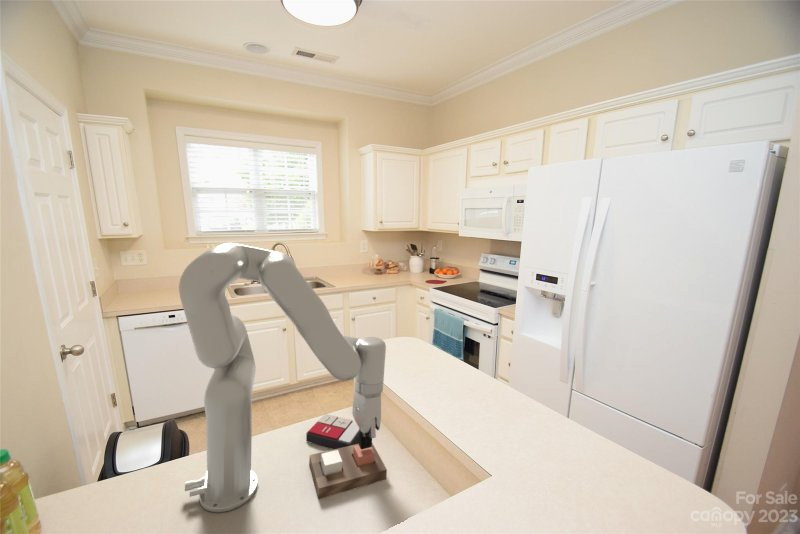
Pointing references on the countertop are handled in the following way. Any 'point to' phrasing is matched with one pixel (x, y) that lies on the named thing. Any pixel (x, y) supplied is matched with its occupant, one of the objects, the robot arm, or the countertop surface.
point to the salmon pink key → (363, 456)
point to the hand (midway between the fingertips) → (365, 446)
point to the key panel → (345, 473)
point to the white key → (331, 463)
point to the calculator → (334, 432)
